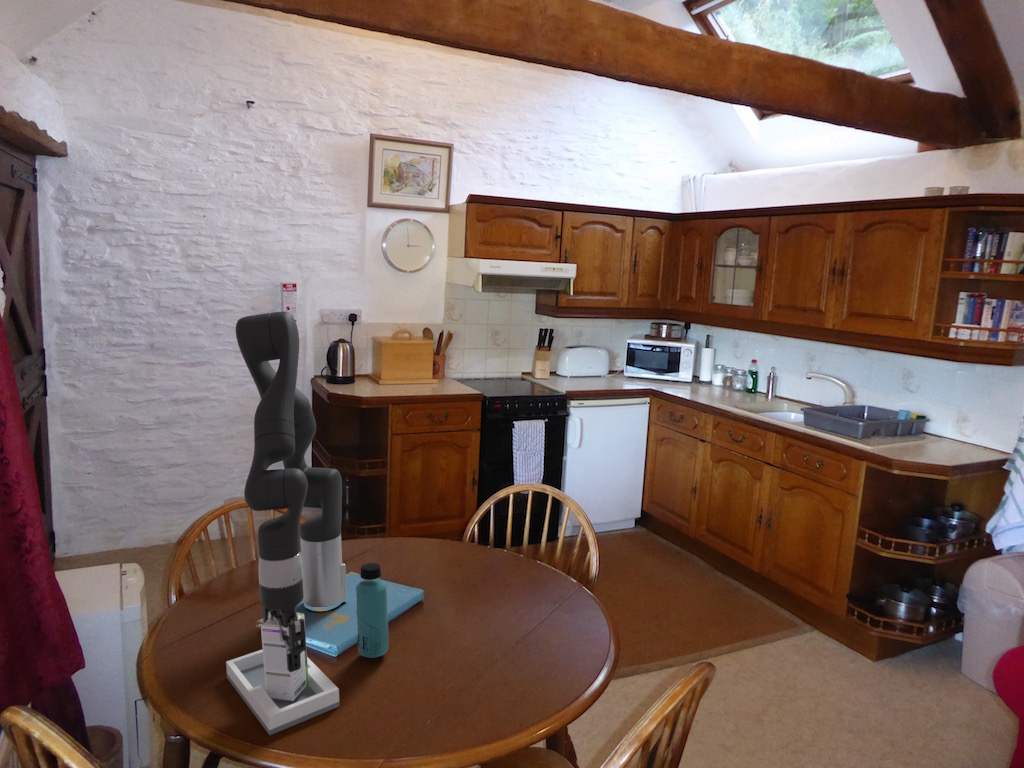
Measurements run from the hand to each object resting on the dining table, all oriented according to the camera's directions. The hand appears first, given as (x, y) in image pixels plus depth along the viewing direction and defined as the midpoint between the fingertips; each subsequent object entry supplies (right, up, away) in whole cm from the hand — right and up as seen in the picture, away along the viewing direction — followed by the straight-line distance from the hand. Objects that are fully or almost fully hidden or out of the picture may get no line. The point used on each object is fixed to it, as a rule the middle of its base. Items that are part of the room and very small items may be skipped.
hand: (285, 660), depth 131 cm
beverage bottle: (+13, -6, +16) cm, 21 cm away
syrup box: (0, -6, +1) cm, 6 cm away
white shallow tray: (-2, -7, +4) cm, 9 cm away
